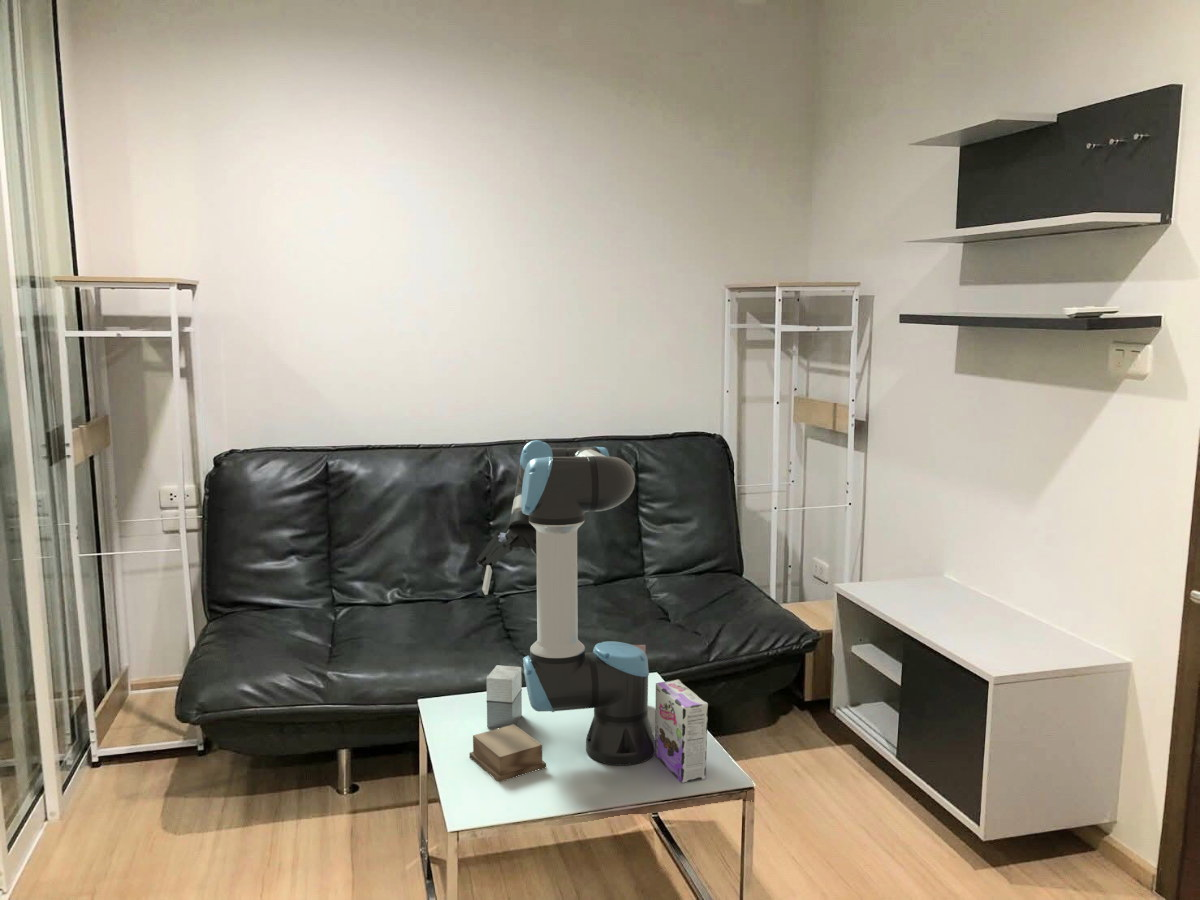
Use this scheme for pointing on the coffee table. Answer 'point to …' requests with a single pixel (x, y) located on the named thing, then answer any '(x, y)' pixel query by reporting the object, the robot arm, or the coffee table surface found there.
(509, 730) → the walnut stand
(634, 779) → the coffee table surface
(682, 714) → the candy box
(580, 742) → the coffee table surface
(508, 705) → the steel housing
